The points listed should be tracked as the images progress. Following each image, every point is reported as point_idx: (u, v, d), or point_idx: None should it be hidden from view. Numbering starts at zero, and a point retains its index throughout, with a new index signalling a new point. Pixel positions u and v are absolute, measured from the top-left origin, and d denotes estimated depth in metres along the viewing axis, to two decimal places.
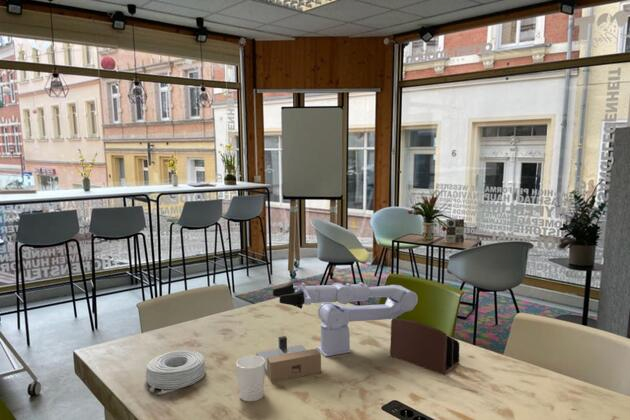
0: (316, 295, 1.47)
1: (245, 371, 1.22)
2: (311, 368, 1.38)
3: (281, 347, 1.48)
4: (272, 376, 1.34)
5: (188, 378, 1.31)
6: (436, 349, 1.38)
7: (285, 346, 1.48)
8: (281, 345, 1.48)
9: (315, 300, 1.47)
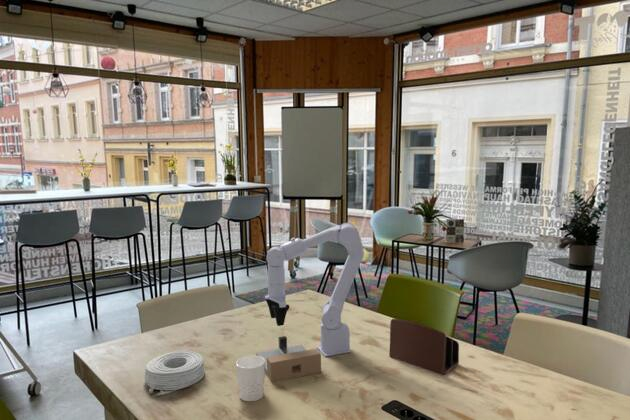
0: (277, 287, 1.49)
1: (245, 371, 1.22)
2: (311, 368, 1.38)
3: (281, 347, 1.48)
4: (272, 376, 1.34)
5: (187, 379, 1.30)
6: (435, 350, 1.37)
7: (285, 346, 1.48)
8: (281, 345, 1.48)
9: (282, 286, 1.50)
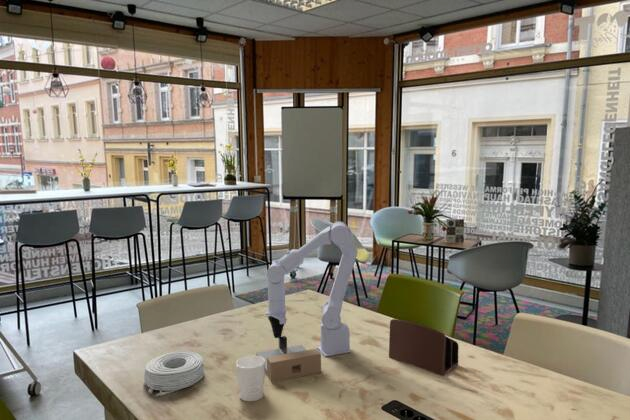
0: (277, 303, 1.50)
1: (245, 371, 1.22)
2: (311, 368, 1.38)
3: (281, 347, 1.48)
4: (272, 376, 1.34)
5: (187, 379, 1.30)
6: (435, 350, 1.37)
7: (285, 346, 1.48)
8: (281, 345, 1.48)
9: (282, 303, 1.51)
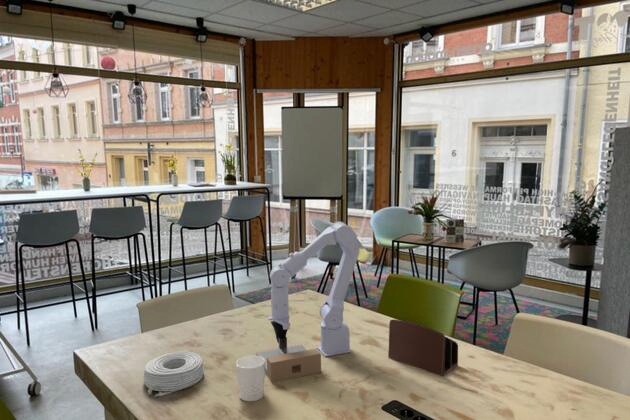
0: (281, 308, 1.47)
1: (245, 371, 1.22)
2: (311, 368, 1.38)
3: (281, 347, 1.48)
4: (272, 376, 1.34)
5: (186, 380, 1.29)
6: (434, 350, 1.37)
7: (285, 346, 1.48)
8: (281, 345, 1.48)
9: (285, 307, 1.48)
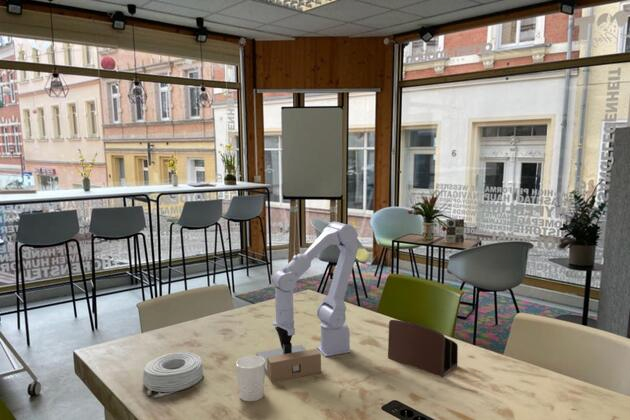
0: (285, 313, 1.42)
1: (245, 371, 1.22)
2: (311, 368, 1.38)
3: (286, 353, 1.43)
4: (272, 376, 1.34)
5: (185, 381, 1.29)
6: (434, 351, 1.36)
7: (290, 352, 1.44)
8: (285, 351, 1.43)
9: (290, 313, 1.43)
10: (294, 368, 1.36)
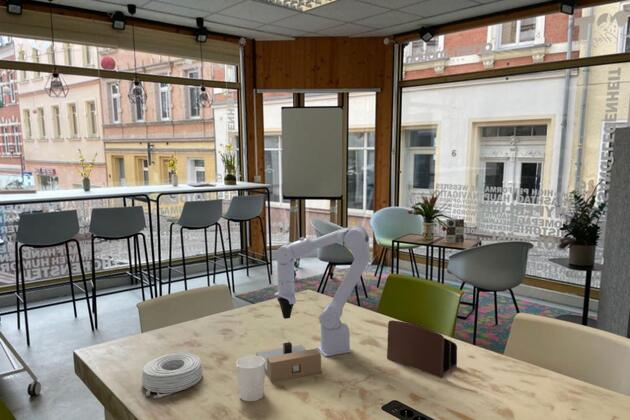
0: (287, 284, 1.53)
1: (245, 371, 1.22)
2: (311, 368, 1.38)
3: (286, 353, 1.43)
4: (272, 376, 1.34)
5: (184, 382, 1.29)
6: (433, 351, 1.36)
7: (290, 352, 1.44)
8: (285, 351, 1.43)
9: (291, 284, 1.54)
10: (294, 368, 1.36)
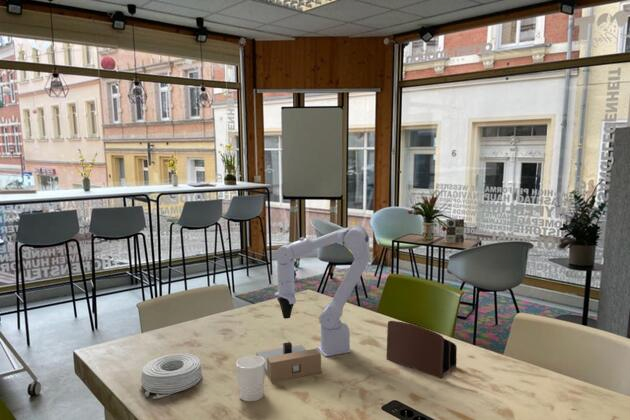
0: (287, 284, 1.53)
1: (245, 371, 1.22)
2: (311, 368, 1.38)
3: (286, 353, 1.43)
4: (272, 376, 1.34)
5: (184, 382, 1.28)
6: (433, 352, 1.36)
7: (290, 352, 1.44)
8: (285, 351, 1.43)
9: (291, 284, 1.54)
10: (294, 368, 1.36)
